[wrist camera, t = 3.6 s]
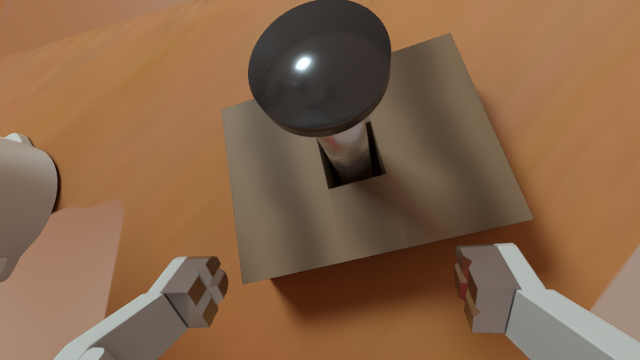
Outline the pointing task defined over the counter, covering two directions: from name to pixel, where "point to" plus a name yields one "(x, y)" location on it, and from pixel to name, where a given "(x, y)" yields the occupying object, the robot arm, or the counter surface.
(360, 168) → the steel peg
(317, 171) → the brown flat block
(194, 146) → the counter surface
